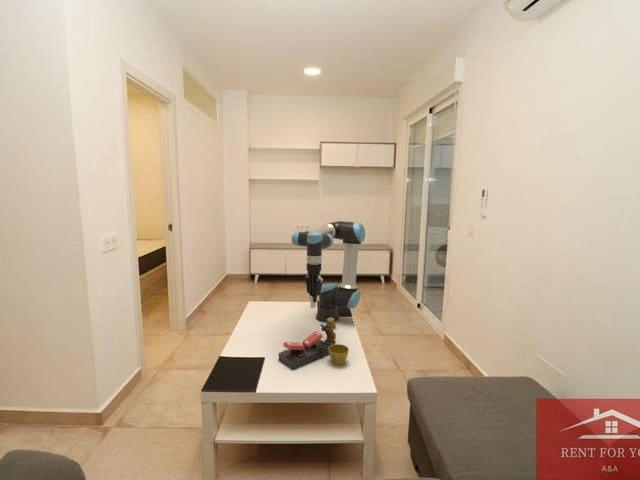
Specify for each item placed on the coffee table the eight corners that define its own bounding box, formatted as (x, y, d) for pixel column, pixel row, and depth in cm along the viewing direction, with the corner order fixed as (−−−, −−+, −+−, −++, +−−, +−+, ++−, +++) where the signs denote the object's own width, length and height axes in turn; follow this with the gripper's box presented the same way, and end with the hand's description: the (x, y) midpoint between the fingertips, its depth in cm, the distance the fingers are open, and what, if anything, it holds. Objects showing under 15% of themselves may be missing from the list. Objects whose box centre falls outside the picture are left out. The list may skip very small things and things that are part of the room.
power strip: (317, 345, 188) (318, 335, 187) (332, 353, 179) (333, 343, 178) (278, 360, 171) (278, 350, 170) (293, 370, 162) (293, 359, 161)
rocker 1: (298, 346, 177) (299, 342, 177) (304, 350, 173) (305, 346, 173) (283, 345, 170) (284, 341, 170) (289, 349, 166) (290, 345, 166)
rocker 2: (316, 334, 184) (315, 330, 184) (322, 337, 181) (322, 334, 180) (302, 344, 179) (301, 341, 178) (309, 348, 175) (308, 345, 174)
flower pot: (328, 356, 175) (328, 343, 174) (347, 357, 175) (348, 344, 174) (327, 367, 165) (328, 353, 164) (348, 367, 165) (349, 354, 164)
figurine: (338, 341, 193) (339, 316, 191) (333, 346, 186) (334, 320, 184) (323, 338, 197) (324, 313, 194) (318, 343, 190) (318, 317, 188)
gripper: (300, 261, 175) (299, 305, 179) (316, 266, 166) (315, 312, 169) (311, 259, 180) (310, 302, 184) (328, 264, 170) (327, 309, 174)
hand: (313, 307), depth 177 cm, fingers closed
